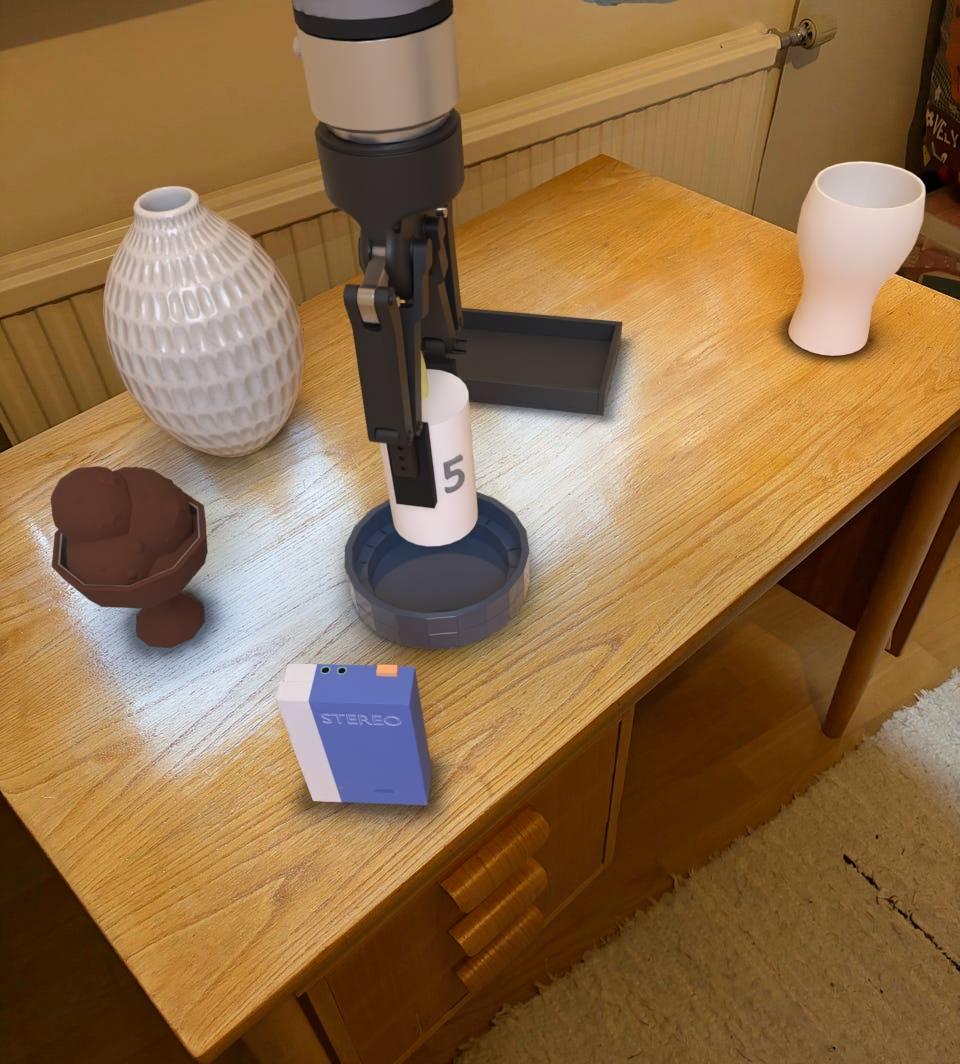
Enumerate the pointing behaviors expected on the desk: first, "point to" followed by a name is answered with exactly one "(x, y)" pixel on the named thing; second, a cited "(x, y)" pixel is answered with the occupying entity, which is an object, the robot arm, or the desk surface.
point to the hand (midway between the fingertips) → (430, 469)
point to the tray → (538, 360)
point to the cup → (852, 250)
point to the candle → (441, 465)
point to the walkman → (357, 732)
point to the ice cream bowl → (132, 547)
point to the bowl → (439, 578)
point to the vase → (202, 326)
